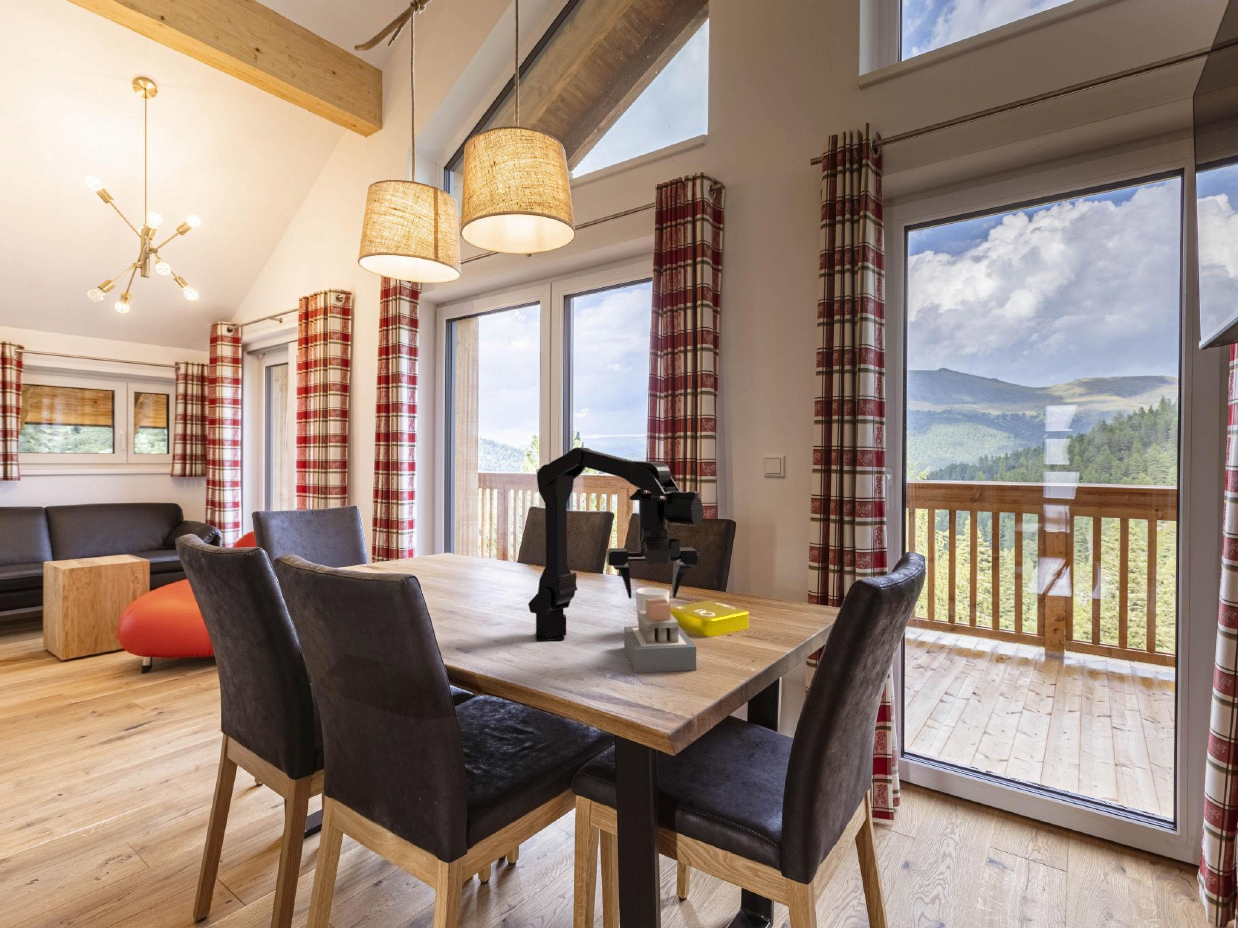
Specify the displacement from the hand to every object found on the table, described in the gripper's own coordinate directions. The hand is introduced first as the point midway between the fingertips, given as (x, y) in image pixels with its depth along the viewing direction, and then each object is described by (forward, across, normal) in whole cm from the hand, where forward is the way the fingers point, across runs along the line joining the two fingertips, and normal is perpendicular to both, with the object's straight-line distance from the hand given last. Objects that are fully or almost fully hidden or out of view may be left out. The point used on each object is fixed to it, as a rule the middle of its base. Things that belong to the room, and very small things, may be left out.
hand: (652, 597), depth 129 cm
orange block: (+4, +1, -1) cm, 4 cm away
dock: (+12, +1, -1) cm, 12 cm away
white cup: (+12, +3, +17) cm, 21 cm away
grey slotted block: (+8, +1, -1) cm, 8 cm away
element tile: (+13, +18, +22) cm, 31 cm away
